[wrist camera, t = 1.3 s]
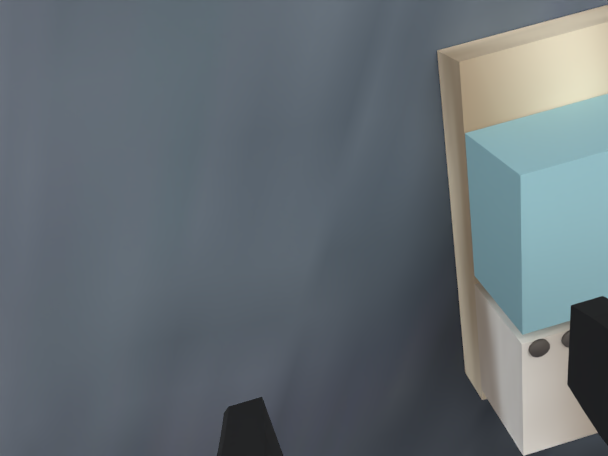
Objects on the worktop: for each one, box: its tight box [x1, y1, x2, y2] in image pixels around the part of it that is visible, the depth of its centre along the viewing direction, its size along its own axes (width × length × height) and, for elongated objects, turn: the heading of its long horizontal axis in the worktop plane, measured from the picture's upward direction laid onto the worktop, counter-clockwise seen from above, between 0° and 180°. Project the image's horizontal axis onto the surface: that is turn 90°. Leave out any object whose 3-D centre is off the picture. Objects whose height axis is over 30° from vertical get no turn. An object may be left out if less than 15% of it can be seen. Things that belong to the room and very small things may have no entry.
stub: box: [465, 94, 608, 335], centre depth 16 cm, size 5×5×3 cm
